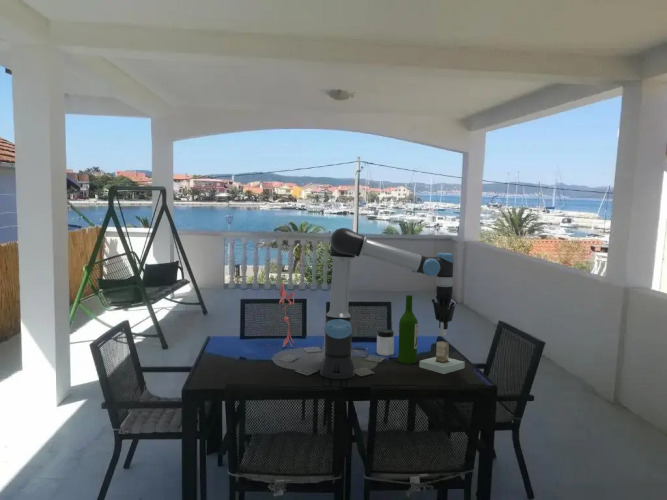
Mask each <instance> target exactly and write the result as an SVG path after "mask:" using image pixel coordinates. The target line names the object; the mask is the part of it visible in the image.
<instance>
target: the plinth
mask: <svg viewBox="0 0 667 500" xmlns="http://www.w3.org/2000/svg"><path fill="white" fill-rule="evenodd" d="M418 364H419V365H418V366H419V368H421V369H424V370H428V371H432V372H434V373H439V374H442V375H445V374H449V373H452V372H453V373H454V372H457V371H459V370H463V369H465V368H466V367H465V366H466V363H465V361H462V360H458V359H454V358H451V357H448V362H447V363H440V362H436V356H434V357H430V358H426V359H422V360H419V363H418Z"/></svg>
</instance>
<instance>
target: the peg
mask: <svg viewBox="0 0 667 500" xmlns="http://www.w3.org/2000/svg"><path fill="white" fill-rule="evenodd" d="M449 345H450V343H449V342H447V341H437V342H436V349H435V352H436V354H435V355H436V356H435V357H436V362H440V363H447V362H448V358H449V349H450V348H449V347H450V346H449Z"/></svg>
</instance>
